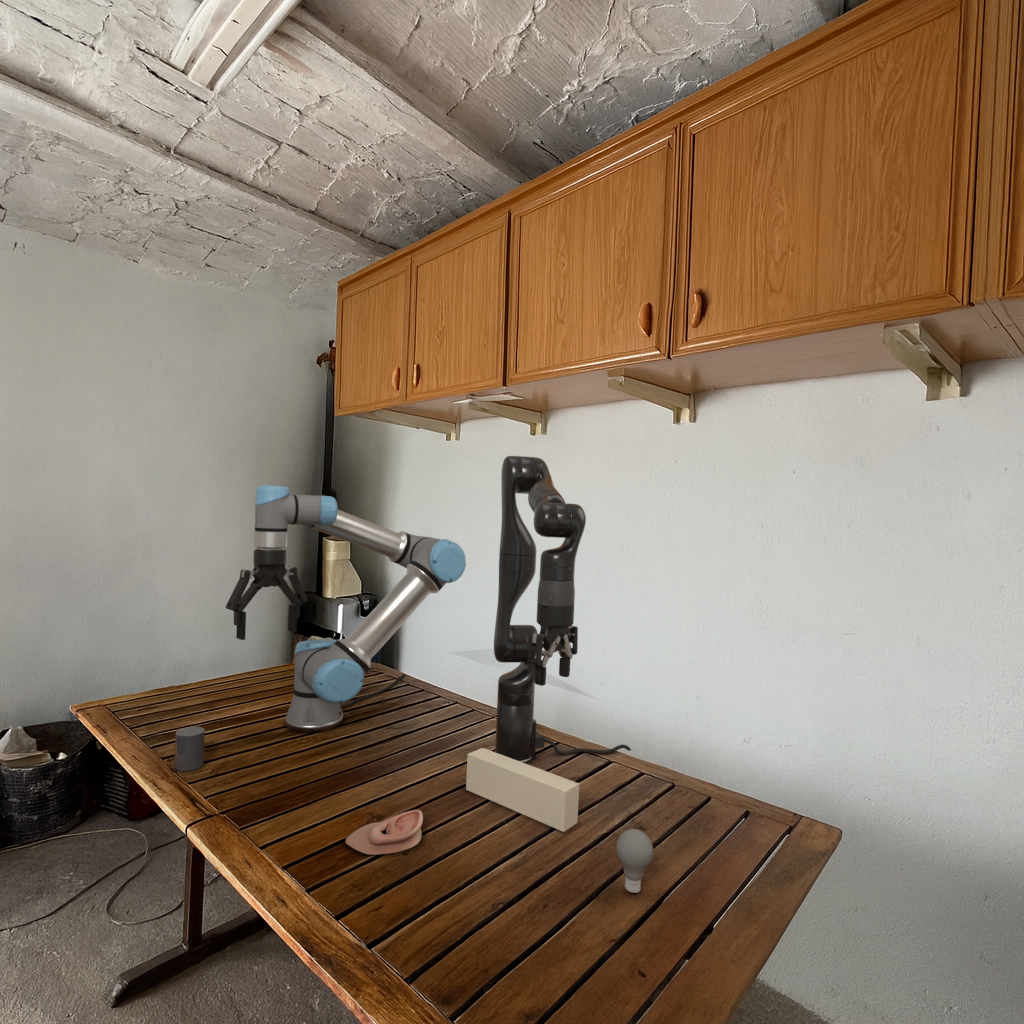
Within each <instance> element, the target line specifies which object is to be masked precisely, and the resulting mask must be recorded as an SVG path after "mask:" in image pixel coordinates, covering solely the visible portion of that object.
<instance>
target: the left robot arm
mask: <svg viewBox="0 0 1024 1024" xmlns="http://www.w3.org/2000/svg"><path fill="white" fill-rule="evenodd" d="M254 506H255V508H254V509H255V510H254V518H255V519H254V540H253V541H254V542H253V547H255V549H254V550H253V560H252V561H253V569H252V570H249V569H244V568H243V569H241V570H240V572H239V578H238V581H237V582H236V585H235V587H234V588H233V591H232V592H231V595H230V597H229V599H228V601H227V602H226V605H225V609H226V610H229V611H233V625H234V626H236V631H235V632H236V633H235V635H236V637H235V638H236V639H238V640H239V641H240V640H241V641H244V640H246V631H247V630H246V626H247V612H246V611H244V610H245V609H246V607H247V606H248V605H249V604H250V602H251V601H252V600H253V598H254V597H255V596H256V595H257V593H258V592H259V591H260V590H262V589H263V588H270V587H278V588H279V589H280V591H281V592H282V594H284V595H285V597H286V598H287V599H288V600H289V602H290V603H291V604H288V612H287V614H288V616H287V631H288V632H292V633H296V632H297V630H298V629H297V625H298V619H299V618H300V615H301V612H300V611H301V607H302V606H303V605H304V603H307V602H308V597H307V594H306V593H305V590H304V588H303V586H302V583H301V580H300V578H299V577H298V568H297V567H296V566H290V565H289V566H288V567H286V565H287V554H288V553H287V550H286V549H285V548H287V547H288V526H289V525H290V526H291V525H292V526H293V525H294V526H295V525H299V526H303V527H307V528H310V529H311V530H315V531H318V532H321V533H323V534H326V535H329V536H331V537H334V538H336V539H340V540H342V541H345V542H346V543H347V542H348V543H350V544H353V545H355V546H359V547H361V548H363V549H366V550H369V551H371V552H374V553H377V554H380V555H382V556H385V557H388V560H389V561H390V562H391V563H394V564H396V565H399V566H401V567H402V568H403V567H404V568H405V569H406V574H405V575H404V576H403V577H402V578H401V579H400V580H399V581H398V582H397V583H396V585H394V587H393V588H392V589H391V590H390V591H389V592H388V593H387V594H386V595H385V596H384V598H382V600H381V601H380V602H379V603H378V604H377V605H376V606H375V607H373V610H372V611H371V612H370V613H369V614H368V615H367V616H366V617H365V618H364V619H363V620H362V621H361V622H360V624H359V625H357V626H356V628H354V630H353V631H352V632H351V633H350V634H349V635H348V636H347V637H346V638H339V639H334V638H332V639H325V638H324V639H318V640H308V639H307V640H308V641H307V640H303V641H299V642H297V644H296V645H295V650H294V653H293V654H294V655H293V656H294V672H293V673H294V674H293V695H292V696H293V697H292V699H291V702H290V704H289V708H288V711H287V713H286V715H285V726H286V728H287V729H289V730H291V731H294V732H295V731H296V732H301V733H316V732H325V731H329V730H332V729H335V728H337V727H339V726H340V725H342V723H343V722H344V713H343V709H345V708H346V707H349V706H351V705H353V704H355V703H357V702H359V701H362V700H364V699H368V698H371V697H374V696H376V695H379V694H381V693H383V692H386V691H387V690H389V689H391V688H392V687H393V686H395V684H397V683H398V682H399V681H400V680H401V679H402V678H404V677H405V676H406V673H402V675H400V676H399V677H398V678H397V679H395V680H394V681H393V682H392V683H391V684H389V685H388V686H386V687H384V688H381V689H380V690H378V691H376V692H372V693H370V694H366V695H363V696H361V697H358V698H356V696H357V695H358V694H359V693H360V691H361V690H362V688H363V686H364V680H365V675H367V673H368V672H369V671H370V670H371V667H372V666H371V665H372V664H371V661H372V659H373V658H374V657H375V656H376V654H377V653H378V652H379V651H380V650H381V649H382V648H383V647H384V645H385V644H387V642H388V641H389V640H390V639H391V638H392V636H393V635H394V634H395V633H396V632H397V631H398V630H399V629H400V627H401V626H402V625H403V624H405V622H406V621H407V620H408V618H409V617H410V616H411V615H412V614H413V613H414V612H415V611H416V610H417V608H418V607H419V606H420V605H421V604H422V603H423V602H424V601H425V600H426V598H427V597H428V596H429V595H430V594H438V593H439V592H440V591H441V589H443V588H444V587H445V585H446V584H451V583H454V582H456V581H458V580H459V579H460V578H462V576H463V575H464V572H465V570H466V565H467V563H466V559H467V557H466V554H465V551H464V549H463V547H462V546H460V545H459V543H457V542H455V541H452V540H449V539H447V538H442V539H441V538H435V537H431V536H422V535H415V534H412V533H408V532H405V531H403V530H401V531H399V532H396V531H395V530H391V529H389V528H387V527H384V526H382V525H379V524H376V523H374V522H371V521H368V520H366V519H365V518H364V519H363V518H361V517H359V516H356V515H354V514H350V513H348V512H346V511H343V510H341V509H339V507H338V501H337V500H336V498H335V497H334V496H330V495H329V496H328V495H323V494H322V495H315V494H314V495H311V494H299V493H291V492H290V489H289V487H288V486H282V485H281V486H280V485H260V486H258V487H257V489H256V494H255V503H254ZM285 576H287V577H288V580H289V582H290V584H291V587H292V588H291V587H290V586H289V585H288V584H289V583H288V581H286V579H285ZM252 578H253V580H252V581H251V583H250V580H251V579H252ZM249 583H250V584H249ZM248 585H249V587H248ZM247 587H248V588H247ZM354 698H356V699H354ZM352 699H353V700H352ZM351 700H352V701H351ZM347 702H348V703H347ZM345 703H346V704H345ZM342 708H343V709H342Z"/></svg>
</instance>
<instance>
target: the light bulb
mask: <svg viewBox="0 0 1024 1024" xmlns="http://www.w3.org/2000/svg"><path fill="white" fill-rule="evenodd" d="M615 849H616V854H617V857H618V859H619V861H620V863H621V865H622V867H623V873H624V874H623V875H624V876H625V878H624V888H625V890H627V891H628V892H630V893H634V894H635V893H639V892H640V891H641V889H642V887H641V886H642V879H643V877H644V875H645V871H646V868H647V867H648V866H649V864H650V863H651V861H652V859H653V855H654V847H653V843H652V841H651V838H649V836H648V835H647V834H646V833H645V832H643V831H642V830H641V829H636V828H629V829H627V830H625V831H623V832H622V833H621V834H620V835H619V837H618V839H617V841H616V847H615Z"/></svg>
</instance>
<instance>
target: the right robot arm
mask: <svg viewBox="0 0 1024 1024" xmlns="http://www.w3.org/2000/svg"><path fill="white" fill-rule="evenodd" d="M500 475H501V476H500V477H501V478H500V479H501V480H500V481H501V483H500V484H501V527H500V540H499V553H498V555H499V556H498V557H499V558H498V594H497V608H496V614H495V615H496V616H495V625H494V634H493V655H494V657H495V660H496V661H497V662H498V663H508V664H510V663H512V664H513V663H519V665H518V666H516V667H515V668H513V669H512V670H510V671H508V672H505V673H503V674H501V675H500V676H499V677H498V680H497V701H496V724H495V725H496V726H495V745H494V752H495V753H498V754H501V755H503V756H506V757H509V758H512V759H514V760H517V761H520V762H522V763H525V764H527V763H529V762H530V761H532V760H534V759H536V749H543V748H545V743H546V744H549V745H551V746H552V748H553V750H554V752H555V753H556V754H558V755H560V756H567V755H572V754H577V753H590V754H599V755H604V754H605V755H607V754H612V753H614V752H617V751H618V750H621V749H625V750H626V751H628V752H631V751H632V749H631V747H629V746H628V745H627V744H619V745H616V746H614V747H613V748H609V749H594V748H581V747H580V748H574V749H570V750H565V751H564V750H560V749H559V748H558V745H557V744H556V743H555V742H554V741H552V740H551V739H548V738H545V735H543V734H541V733H540V732H539V731H537V720H536V719H534V716H535V715H534V714H535V693H536V692H535V690H536V685H537V686H540V687H543V686H545V685H546V684H547V664H548V662H549V660H550V658H552V657H553V655H554V653H557V652H558V655H559V663H558V664H559V665H558V675H559V677H562V678H569V677H570V676H571V675H570V674H571V673H570V672H571V660H572V659H573V656H575V655H577V654H578V648H579V647H578V643H579V642H578V639H579V638H578V637H579V636H578V635H579V634H578V633H579V628H578V626H575V625H574V621H575V620H574V619H575V597H576V589H575V588H576V587H575V586H576V585H575V570H576V569H575V568H576V558H577V553H578V550H579V547H580V543H581V540H582V538H583V535H584V531H585V528H586V525H587V516H586V511H585V510H584V507H582V506H581V505H580V504H577V503H568V502H567V503H566V500H565V498H564V497H563V495H562V494H561V493H560V492H559V490H558V489H557V488H556V487H555V484H554V481H553V479H552V475H551V472H550V470H549V466H548V465H547V463H546V461H545V460H544V459H542V458H540V457H538V456H537V457H536V456H521V455H508V456H506V457H505V458H504V459H503V462H502V465H501V474H500ZM516 494H518V495H519V494H521V495H527V501H528V506H529V507H530V509H531V511H532V512H533V514H534V515H533V528H534V531H535V532H536V534H537V535H539V536H541V537H543V538H557V539H558V538H559V539H564V540H563V542H562V543H561V545H560V546H557V547H554V548H549V549H545V550H544V551H542V552H541V554H540V561H539V564H540V565H539V580H538V587H537V599H536V600H537V603H536V604H537V605H536V623H537V625H539V626H540V630H539V632H538V629H537V628H536V626H535V625H533V624H511V622H512V617H513V613H514V610H515V608H516V607H517V604H518V602H519V600H520V599H521V597H522V596H523V594H524V593H525V592H526V590H527V589H528V588H529V586H530V584H532V581H533V579H534V577H535V575H536V568H537V544H536V542H535V539H534V538H533V536H532V534H531V532H530V531H529V529H528V527H527V525H526V524H525V522H524V520H523V518H522V516H521V514H520V511H519V507H518V503H517V495H516ZM571 644H572V645H571ZM542 657H543V658H542Z"/></svg>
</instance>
